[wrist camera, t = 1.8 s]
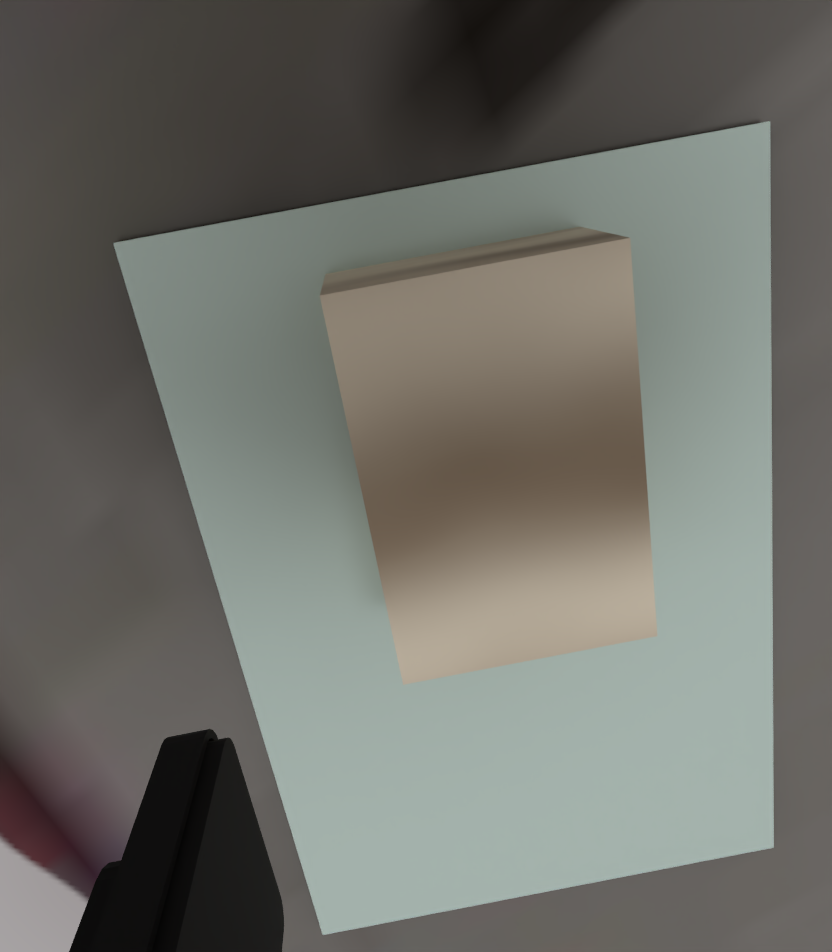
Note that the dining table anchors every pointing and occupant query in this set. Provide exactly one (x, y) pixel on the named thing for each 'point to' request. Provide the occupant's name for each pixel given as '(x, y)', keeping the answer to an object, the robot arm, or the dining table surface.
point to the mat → (356, 571)
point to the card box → (499, 447)
